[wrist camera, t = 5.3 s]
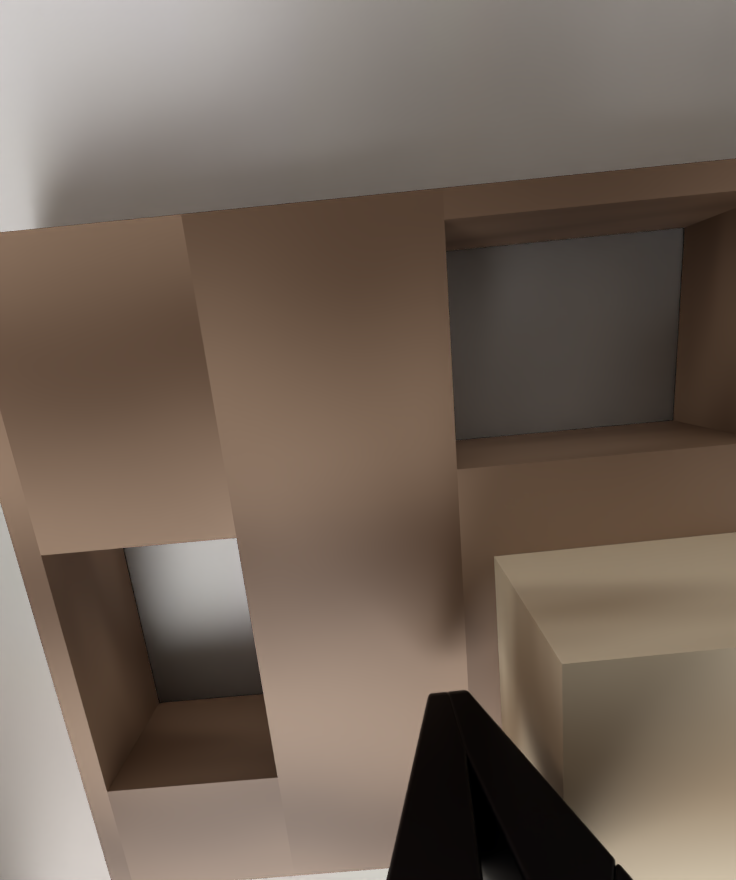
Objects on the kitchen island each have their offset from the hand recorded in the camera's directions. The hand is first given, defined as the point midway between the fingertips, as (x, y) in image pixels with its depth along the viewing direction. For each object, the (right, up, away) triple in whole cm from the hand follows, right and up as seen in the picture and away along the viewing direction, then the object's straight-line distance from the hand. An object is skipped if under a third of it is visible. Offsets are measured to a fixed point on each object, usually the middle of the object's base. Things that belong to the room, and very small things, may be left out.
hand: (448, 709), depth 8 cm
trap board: (+4, +3, +3) cm, 6 cm away
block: (+4, +1, +1) cm, 4 cm away
